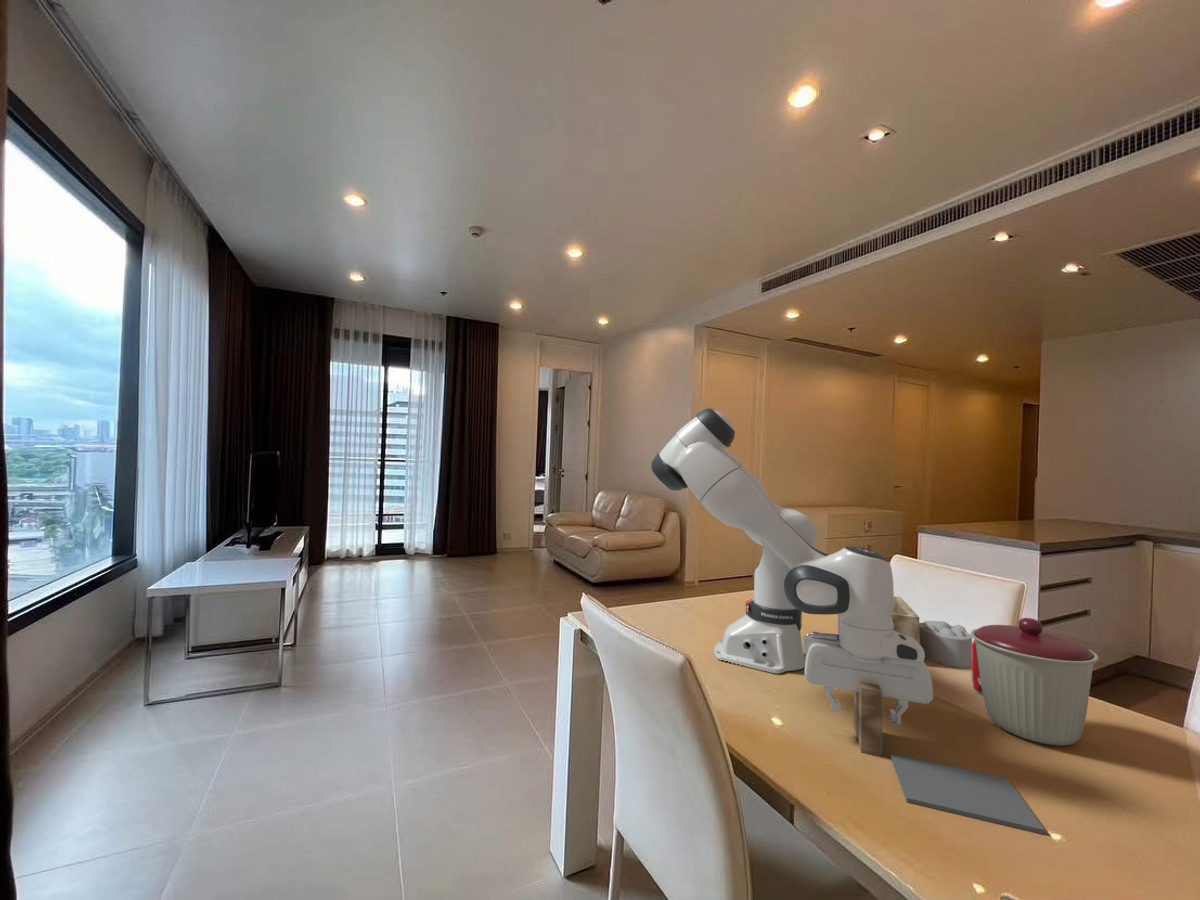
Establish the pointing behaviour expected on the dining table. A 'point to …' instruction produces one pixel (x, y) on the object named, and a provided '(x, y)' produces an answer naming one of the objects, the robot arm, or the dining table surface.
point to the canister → (1034, 681)
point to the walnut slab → (868, 718)
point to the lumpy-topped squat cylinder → (946, 643)
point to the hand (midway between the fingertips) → (864, 716)
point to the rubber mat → (964, 793)
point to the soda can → (975, 669)
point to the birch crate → (905, 619)
